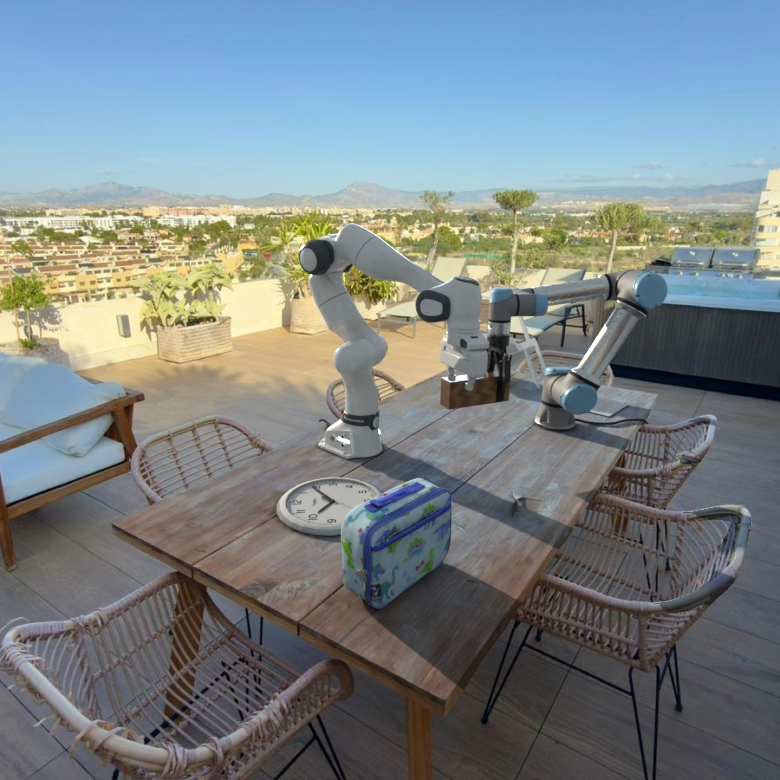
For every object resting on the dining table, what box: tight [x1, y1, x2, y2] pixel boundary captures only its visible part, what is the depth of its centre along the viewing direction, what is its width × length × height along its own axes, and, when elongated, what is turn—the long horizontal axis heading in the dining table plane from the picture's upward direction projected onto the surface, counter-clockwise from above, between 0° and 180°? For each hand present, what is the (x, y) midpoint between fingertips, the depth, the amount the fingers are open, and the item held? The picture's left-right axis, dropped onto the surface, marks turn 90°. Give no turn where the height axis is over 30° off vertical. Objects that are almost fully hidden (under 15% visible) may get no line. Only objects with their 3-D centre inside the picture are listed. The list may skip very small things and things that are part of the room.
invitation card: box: [588, 397, 629, 418], centre depth 226 cm, size 21×1×15 cm
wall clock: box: [276, 476, 383, 537], centre depth 142 cm, size 30×2×30 cm
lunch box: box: [340, 477, 452, 610], centre depth 110 cm, size 26×11×21 cm, turn 134°
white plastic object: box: [481, 316, 547, 390], centre depth 260 cm, size 37×45×31 cm
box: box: [439, 371, 512, 411], centre depth 181 cm, size 24×6×10 cm, turn 114°
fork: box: [511, 484, 525, 517], centre depth 145 cm, size 3×16×2 cm, turn 160°
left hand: (460, 385), depth 148 cm, fingers open, 8 cm apart
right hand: (494, 397), depth 186 cm, fingers closed on box, 6 cm apart
